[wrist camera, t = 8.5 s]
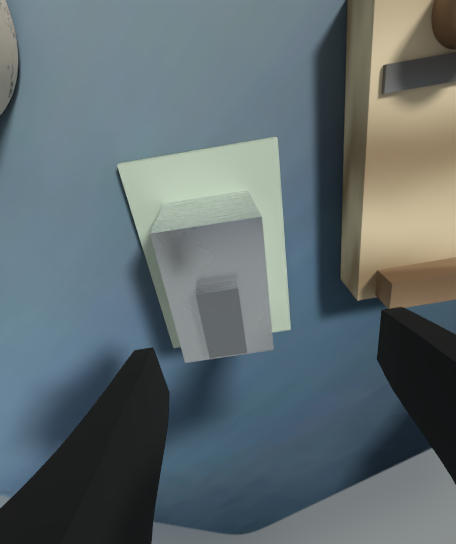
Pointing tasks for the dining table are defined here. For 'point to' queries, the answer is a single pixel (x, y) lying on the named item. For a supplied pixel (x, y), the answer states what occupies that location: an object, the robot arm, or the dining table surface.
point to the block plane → (400, 152)
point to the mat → (208, 182)
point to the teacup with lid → (7, 56)
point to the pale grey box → (215, 275)
